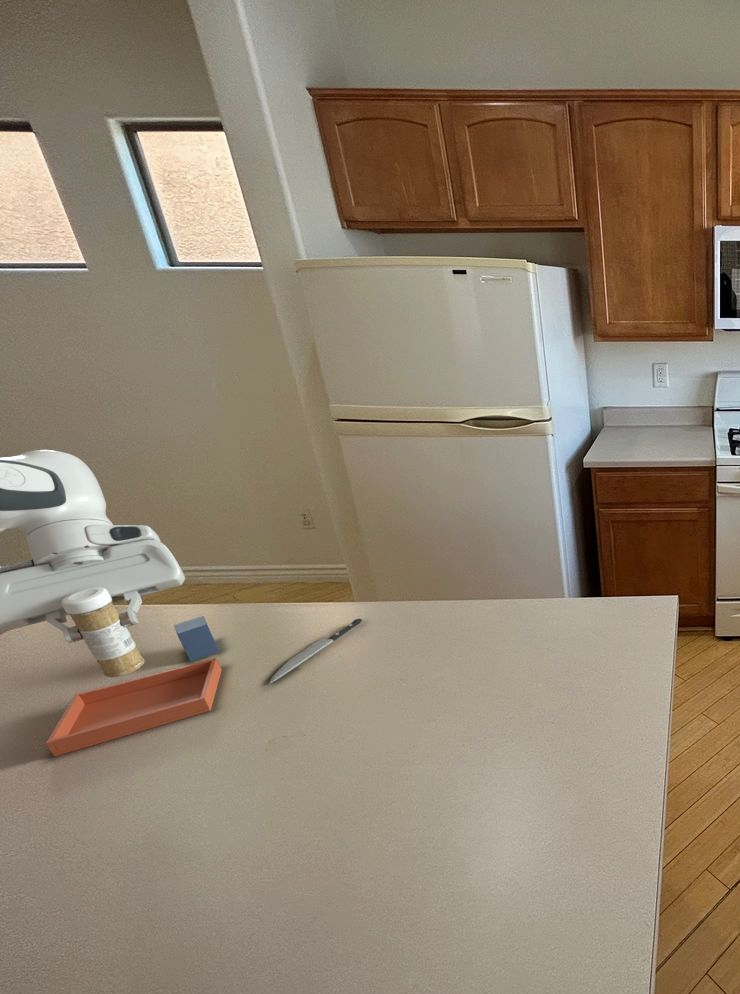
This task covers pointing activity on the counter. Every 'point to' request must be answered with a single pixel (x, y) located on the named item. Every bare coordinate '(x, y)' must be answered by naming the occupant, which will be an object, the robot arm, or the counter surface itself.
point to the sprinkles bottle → (103, 631)
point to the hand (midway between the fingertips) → (104, 632)
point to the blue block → (196, 638)
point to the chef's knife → (311, 651)
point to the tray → (135, 706)
